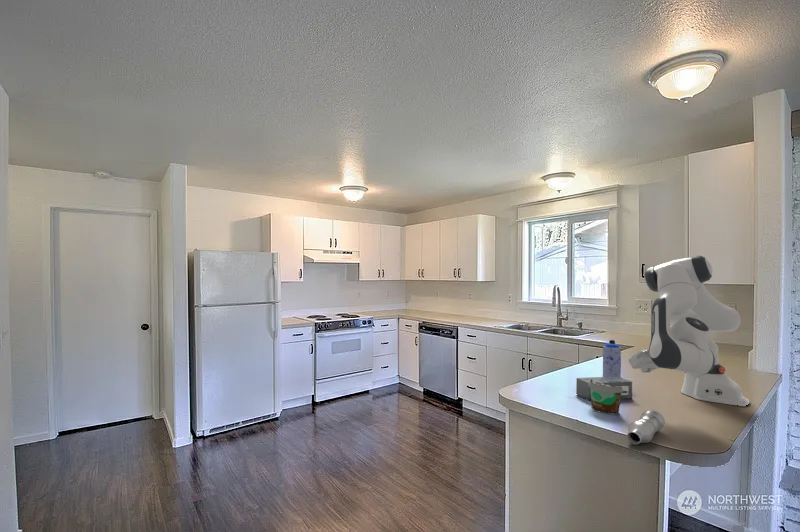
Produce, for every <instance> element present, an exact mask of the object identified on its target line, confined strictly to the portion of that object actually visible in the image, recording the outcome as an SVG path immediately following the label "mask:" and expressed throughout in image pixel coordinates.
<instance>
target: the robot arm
mask: <svg viewBox="0 0 800 532" xmlns="http://www.w3.org/2000/svg"><path fill="white" fill-rule="evenodd" d="M712 278H713V266H712V264H711V263H710V261H709V259H707V258H706V257H705V256H702V255H692V256H690V257H684V258H679V259H672V260H671V261H668V262H664V263H660V264H659V265H656V266H651V267H649V268H647V269H646V270H645V272H644V283H645V285H646V286H647V287H648V288H649V290H650V291H652V292H656V293H658V297H657V298H656V299H654V301H653V303H652V305H651V306H652V307H651V318H650V319H651V320H650V322H651V324H650V325H651V327H650V343H649V347H648V349H642V350H639V351H637V352H636V353H634V354H633V355H632V356H631V357H629V358H628V363H629V364H630V366H631V368H632V369H635V370H636V369H637V370H638V369H640V370H641V372H642V373H645V374H646V373H651V372H652V371H655V370H657V369H668V370H675V371H678V372H683V373H684V379H683V385H682V387H681V390H680V392H681V393H682V394H684V395H686V396H688V397H692V398H694V399H696V400H699V401H704V402H712V403H718V404H725V405H731V406H732V405H733V406H737V405H738V406H737V407H747V406H746V405H748V404H749V405H750V400H749V398H747V397H745V396H744V395H743V392H742V388H741V386H740V385H739V384H738V383H737V382H736V381H734V380H733V379H731V378H730V377H729V376H728V375H726V374H725V372H726V368H725V366H724V365H722V364H720V363H719V346H718V345H717V343H716V342H714V341H713V340H712V339H709V338H708V337H709V334H710V332H715V333H716V332H717V333H726V332H727V333H729V332H735V331H736V330H737V329H738V328H739V327H740V325H741V323H742V320H741V316H740V314H739V312H738V311H737V310H736V309H735V308H733V307H730V306H729V305H725V304H724V303H722V302H721V301H719V300H717V298H715V297H714V296H713V295H711V294H710V291H708V289H707V288H706V286H705V283H706V282H707V281H708V282H709V281H710V279H712ZM671 324H673V325H671ZM749 405H748V406H749Z"/></svg>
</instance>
